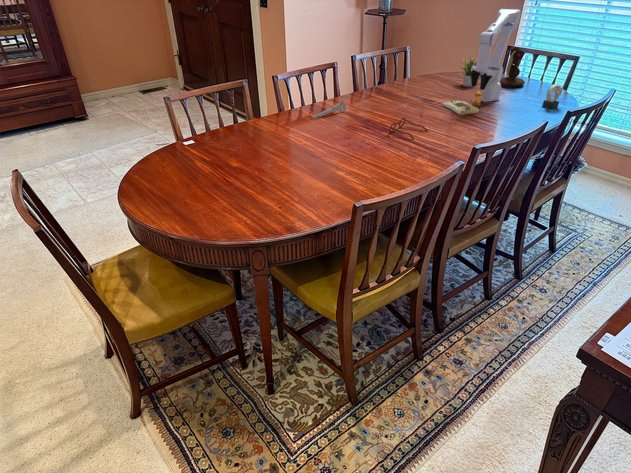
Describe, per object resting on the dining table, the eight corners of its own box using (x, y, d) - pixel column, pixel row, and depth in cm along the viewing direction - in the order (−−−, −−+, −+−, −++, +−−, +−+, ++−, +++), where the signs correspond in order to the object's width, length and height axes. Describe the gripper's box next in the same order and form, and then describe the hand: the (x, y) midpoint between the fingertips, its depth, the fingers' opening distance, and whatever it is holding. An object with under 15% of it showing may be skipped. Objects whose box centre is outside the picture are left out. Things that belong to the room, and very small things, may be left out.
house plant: (484, 88, 249) (489, 58, 240) (460, 89, 250) (464, 59, 241) (477, 82, 261) (482, 53, 252) (454, 83, 262) (458, 54, 253)
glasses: (402, 126, 204) (403, 116, 202) (428, 131, 197) (429, 121, 195) (388, 134, 196) (388, 124, 193) (414, 140, 189) (415, 129, 186)
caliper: (344, 112, 225) (344, 99, 222) (345, 112, 224) (345, 100, 221) (310, 119, 217) (309, 107, 214) (311, 120, 216) (310, 107, 213)
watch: (560, 107, 218) (566, 84, 211) (549, 110, 215) (555, 87, 208) (550, 104, 222) (556, 82, 216) (539, 107, 219) (545, 85, 213)
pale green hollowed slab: (459, 102, 230) (460, 97, 228) (478, 112, 215) (479, 107, 214) (442, 104, 228) (442, 99, 226) (460, 115, 213) (461, 109, 212)
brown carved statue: (494, 82, 261) (501, 46, 249) (520, 82, 259) (528, 46, 247) (499, 88, 248) (506, 51, 237) (526, 88, 246) (535, 51, 235)
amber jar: (477, 104, 226) (479, 90, 221) (482, 107, 221) (485, 93, 217) (468, 106, 225) (471, 91, 220) (474, 108, 221) (476, 94, 216)
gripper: (468, 57, 216) (463, 85, 223) (484, 61, 204) (479, 91, 211) (480, 56, 217) (475, 84, 224) (497, 61, 205) (491, 90, 212)
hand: (477, 88), depth 218 cm, fingers open, 7 cm apart
